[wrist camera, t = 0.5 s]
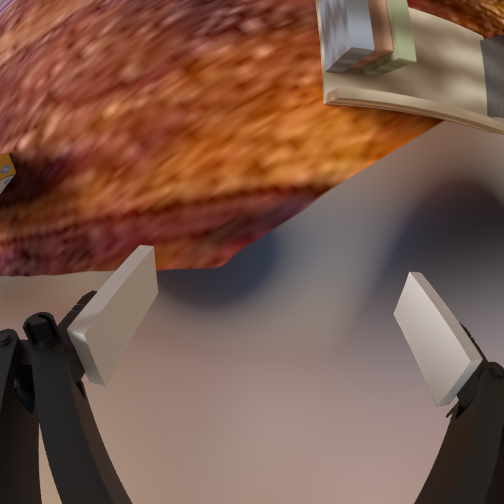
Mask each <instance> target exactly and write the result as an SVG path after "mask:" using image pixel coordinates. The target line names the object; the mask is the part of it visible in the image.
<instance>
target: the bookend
mask: <svg viewBox="0 0 504 504" xmlns="http://www.w3.org/2000/svg"><path fill="white" fill-rule="evenodd" d="M480 46H481V51H482V58H483V65H484V73H485V84H486V97H487V116H490V117H500V118H504V35H501V36H497V37H492V38H488V39H484V40H480Z"/></svg>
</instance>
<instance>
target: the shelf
mask: <svg viewBox="0 0 504 504" xmlns="http://www.w3.org/2000/svg"><path fill="white" fill-rule="evenodd" d="M315 1H316V9H317V18H318V27H319V37H320V49H321V62H322V77H323V97H324V104H333V105H347V106H359V107H369V108H377V109H385V110H393V111H399V112H406V113H412V114H417V115H423V116H428V117H433V118H437V119H442V120H446V121H451V122H455V123H459V124H463V125H466V126H470V127H474V128H477V129H481V130H484V131H487V132H493V133H499V134H504V123H503V122H500V121H497V120H495V119H492V117H490V116H487V97H486V84H485V73H484V65H483V58H482V51H481V46H480V40H484V39H483V36H481V35H479V34H477V33H475V32H473V31H471V30H468V29H466V28H464V27H462V26H459V25H457V24H454V23H452V22H450V21H447V20H444V19H442V18H439V17H436V16H433V15H431V14H428V13H425V12H422V11H418V10H415V9H412V8H408V4H407V0H315Z"/></svg>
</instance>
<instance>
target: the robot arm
mask: <svg viewBox="0 0 504 504" xmlns="http://www.w3.org/2000/svg"><path fill="white" fill-rule="evenodd" d="M157 294H158V288H157V279H156V268H155V256H154V246H144V245H140V246H139V247H138V248H137V249H136V250H135V251H134V252H133V253H132V254H131V255H130V256H129V257H128V258H127V259H126V261H125V262H124V263H123V264H122V265H121V266H120V267H119V268H118V269H117V270H116V272H115V273H114V274H113V275H112V276H111V277H110V278H109V279H108V280H107V282H106V283H105V284H104V285H103V286H102V287H101V289H100V290H99V291H98V292H97V291H91V292H89V293H87V294H86V295H84V296H83V297H82V298H81V299H80V300H79V301H78V303H77V305H75V306H74V307H73V308H72V310H71V311H70V312H69V313H68V314H67V315H66V317H65V318H64V319H63V320H62V321H61V322H60V324H59V325H58V326H57V325H56V322H55V320H54V317H53V315H51V314H50V313H47V312H39V313H36V314H33V315H32V316H30V317H29V318H27V320H26V321H25V322H24V325H23V329H24V331H25V334H26V336H27V338H28V340H20V339H19V337H18V335H17V333H16V331H15V330H13V329H5V330H2V331H0V504H42V501H41V492H40V481H39V456H38V455H39V451H38V446H39V445H38V443H39V423H40V429H41V433H42V438H43V443H44V447H45V451H46V455H47V458H48V462H49V466H50V469H51V472H52V476H53V479H54V482H55V485H56V488H57V490H58V493H59V496H60V499H61V501H62V504H132V502H131V500H130V498H129V497H128V495H127V493H126V491H125V489H124V487H123V485H122V483H121V481H120V479H119V477H118V475H117V473H116V471H115V469H114V467H113V464H112V462H111V460H110V458H109V455H108V453H107V451H106V449H105V446H104V443H103V441H102V438H101V436H100V433H99V431H98V428H97V425H96V422H95V419H94V417H93V414H92V411H91V408H90V404H89V401H88V398H87V395H86V391H85V388H84V384H83V382H82V381H81V378H82V377H83V375H84V373H86V375H87V377H88V379H89V381H90V382H92V383H95V384H98V385H101V386H104V387H106V386H107V384H108V382H109V380H110V378H111V376H112V374H113V372H114V370H115V368H116V367H117V365H118V363H119V361H120V359H121V357H122V355H123V354H124V352H125V350H126V348H127V346H128V344H129V343H130V341H131V339H132V337H133V335H134V333H135V332H136V330H137V328H138V327H139V325H140V323H141V321H142V320H143V318H144V316H145V314H146V312H147V311H148V309H149V307H150V306H151V304H152V302H153V301H154V299H155V297H156V296H157ZM394 316H395V318H396V320H397V322H398V324H399V326H400V328H401V329H402V331H403V333H404V335H405V338H406V340H407V341H408V344H409V345H410V348H411V350H412V352H413V354H414V356H415V358H416V360H417V363H418V365H419V367H420V369H421V371H422V374H423V376H424V378H425V381H426V383H427V385H428V388H429V390H430V393H431V395H432V397H433V400H434V402H435V405H436V407H438V406H443V405H448V404H450V403H451V401H452V400H453V399H454V398H455V396H456V395H457V397H458V399H459V401H458V402H457V404H456V405H455V406H454V407H453V408H452V409H451V410H450V412H449V413H448V414H447V415H446V417H447V418H448V416H449V415H450V414H452V413H453V414H452V417H451V420H450V423H449V426H448V429H447V432H446V435H445V437H444V440H443V443H442V446H441V448H440V451H439V453H438V455H437V458H436V460H435V463H434V465H433V467H432V469H431V472H430V474H429V476H428V478H427V480H426V482H425V484H424V486H423V488H422V490H421V492H420V494H419V496H418V498H417V500H416V501H415V503H414V504H504V369H503V367H502V366H500V365H499V364H498V363H496V362H488V361H487V359H486V358H485V356H484V354H483V353H482V351H481V350H480V348H479V347H478V345H477V344H476V343H475V341H474V339H473V338H472V337H471V335H470V333H469V332H468V330H467V329H466V328H465V327H464V326H463V325H462V324H461V323H459V322H458V321H457V319H456V318H455V317H454V315H453V314H452V312H451V311H450V310H449V309H448V307H447V306H446V304H445V303H444V302H443V300H442V299H441V298H440V296H439V295H438V294H437V293H436V291H435V290H434V289H433V287H432V286H431V285H430V284H429V282H428V281H427V280H426V279H425V277H424V276H423V275H422V274H421V273H417V272H409V275H408V278H407V281H406V283H405V286H404V289H403V291H402V294H401V297H400V299H399V302H398V305H397V307H396V309H395V312H394Z"/></svg>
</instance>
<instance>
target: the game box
mask: <svg viewBox="0 0 504 504" xmlns="http://www.w3.org/2000/svg"><path fill="white" fill-rule="evenodd" d="M15 174H16V170H15V168H14V165H13V163H12V160H11V158H10V155H9V153H5V154H1V155H0V194H1V192H2V191H3V190H4V188H5V187H6V186H7V184H8V183H9V182H10V180H11V179H12V178H13V176H14V175H15Z"/></svg>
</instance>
